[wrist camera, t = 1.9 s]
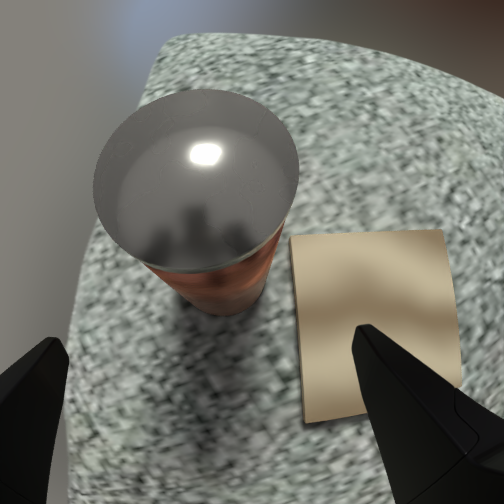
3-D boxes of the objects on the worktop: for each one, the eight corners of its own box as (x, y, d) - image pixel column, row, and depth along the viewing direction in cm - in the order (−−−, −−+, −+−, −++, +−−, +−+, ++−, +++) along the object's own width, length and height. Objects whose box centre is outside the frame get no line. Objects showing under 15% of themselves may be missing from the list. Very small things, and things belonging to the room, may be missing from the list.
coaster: (455, 385, 18) (461, 386, 18) (303, 420, 18) (305, 423, 17) (436, 232, 22) (441, 229, 21) (288, 239, 21) (290, 235, 20)
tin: (269, 314, 20) (312, 260, 7) (180, 318, 20) (82, 273, 7) (263, 229, 21) (285, 86, 9) (179, 233, 21) (110, 101, 9)
